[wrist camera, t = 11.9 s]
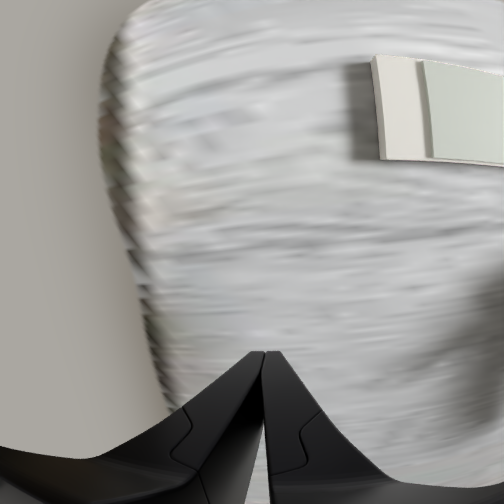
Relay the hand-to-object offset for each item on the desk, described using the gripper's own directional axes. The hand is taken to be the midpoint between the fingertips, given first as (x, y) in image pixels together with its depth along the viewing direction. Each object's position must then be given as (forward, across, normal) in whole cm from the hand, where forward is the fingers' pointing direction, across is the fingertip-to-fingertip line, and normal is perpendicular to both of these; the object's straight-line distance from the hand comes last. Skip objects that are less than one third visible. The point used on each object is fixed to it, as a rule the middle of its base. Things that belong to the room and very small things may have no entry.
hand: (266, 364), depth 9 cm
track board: (+3, -16, -7) cm, 18 cm away
